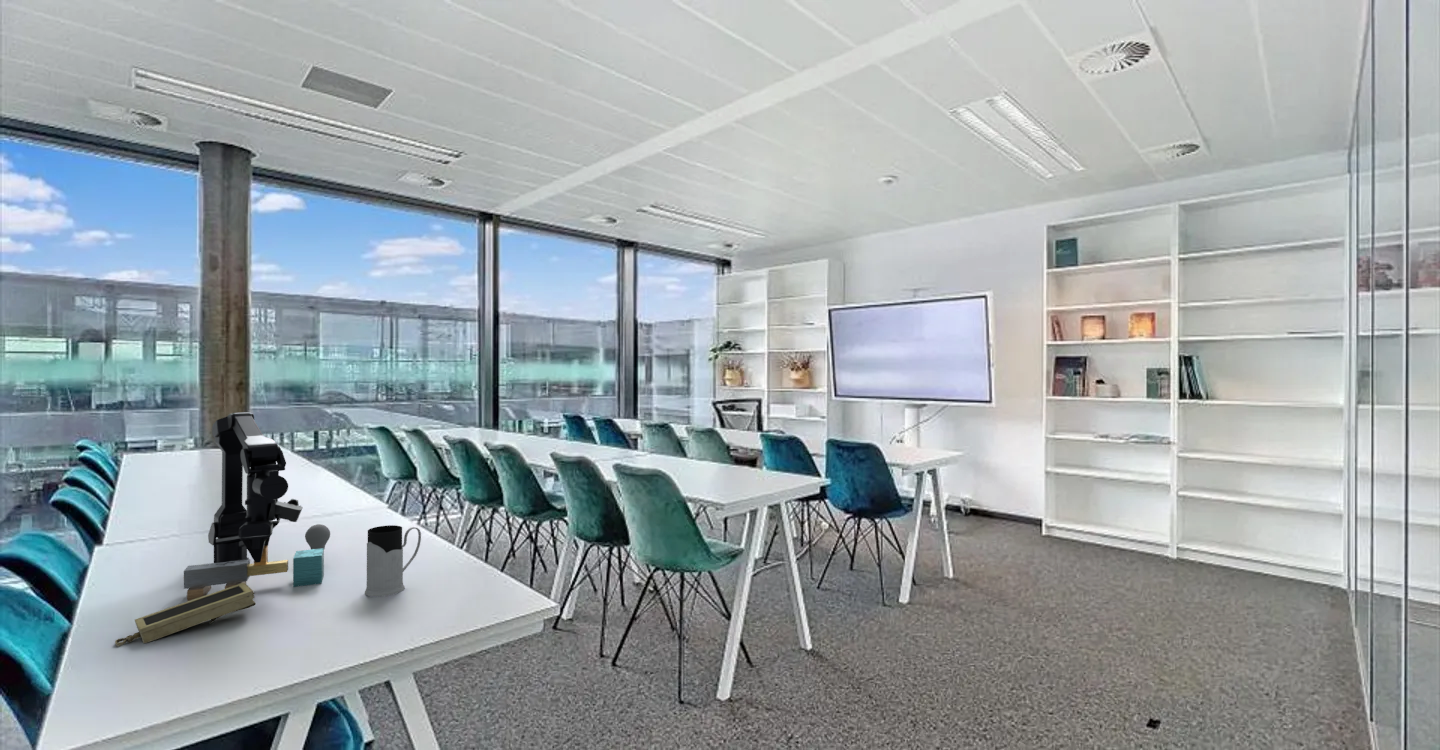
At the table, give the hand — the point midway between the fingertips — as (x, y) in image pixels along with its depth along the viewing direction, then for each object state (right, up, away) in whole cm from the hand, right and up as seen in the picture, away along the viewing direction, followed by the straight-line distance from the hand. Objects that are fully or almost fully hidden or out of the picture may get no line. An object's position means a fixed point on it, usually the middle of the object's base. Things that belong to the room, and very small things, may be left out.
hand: (260, 557), depth 160 cm
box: (+2, -8, -25) cm, 26 cm away
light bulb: (0, -7, +22) cm, 23 cm away
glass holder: (+32, -8, +1) cm, 33 cm away
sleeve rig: (-1, -7, 0) cm, 7 cm away
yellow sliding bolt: (-4, -4, -2) cm, 6 cm away
